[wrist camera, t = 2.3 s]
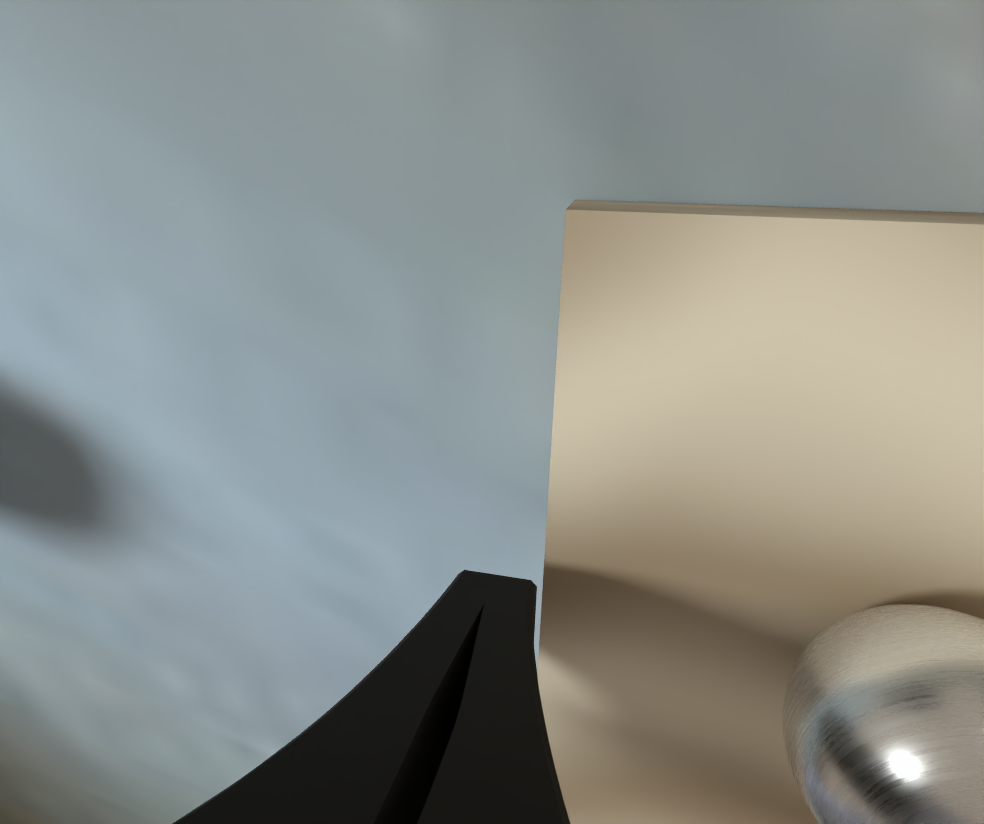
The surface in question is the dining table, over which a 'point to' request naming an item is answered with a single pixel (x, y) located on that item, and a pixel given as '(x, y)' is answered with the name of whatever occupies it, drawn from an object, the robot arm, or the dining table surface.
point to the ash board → (745, 481)
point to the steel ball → (890, 718)
